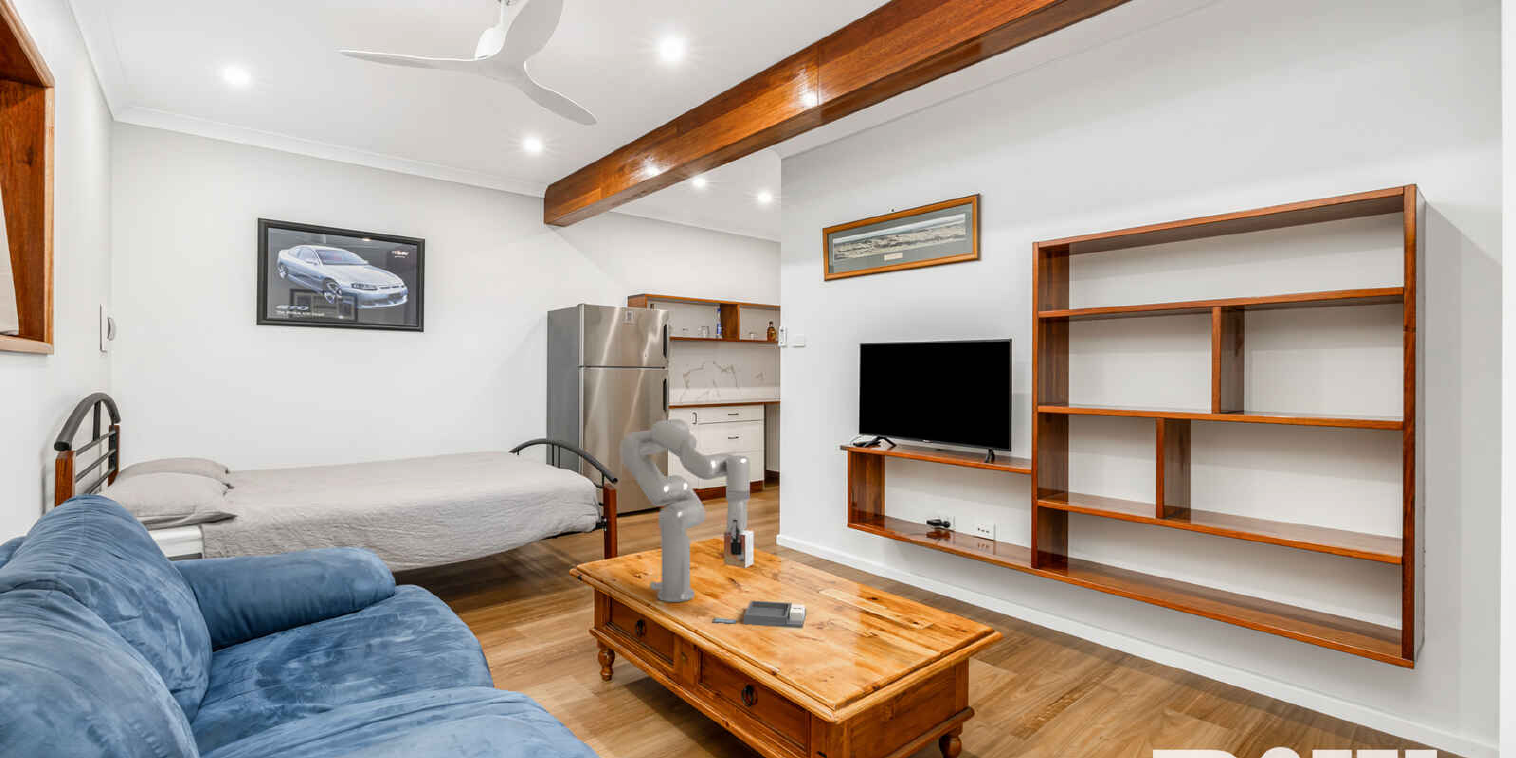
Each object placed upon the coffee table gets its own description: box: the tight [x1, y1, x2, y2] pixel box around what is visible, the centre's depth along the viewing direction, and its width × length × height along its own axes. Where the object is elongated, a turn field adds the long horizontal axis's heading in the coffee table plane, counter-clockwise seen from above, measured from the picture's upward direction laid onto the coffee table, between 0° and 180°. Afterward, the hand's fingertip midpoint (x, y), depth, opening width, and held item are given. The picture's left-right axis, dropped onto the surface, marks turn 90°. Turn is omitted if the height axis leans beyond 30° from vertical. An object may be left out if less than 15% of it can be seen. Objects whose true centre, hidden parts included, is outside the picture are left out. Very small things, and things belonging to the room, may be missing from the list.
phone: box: [711, 617, 738, 626], centre depth 207 cm, size 7×3×1 cm, turn 78°
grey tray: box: [742, 600, 807, 629], centre depth 210 cm, size 18×13×4 cm
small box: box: [723, 529, 755, 569], centre depth 214 cm, size 8×6×10 cm
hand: (738, 550), depth 214 cm, fingers closed on small box, 6 cm apart
